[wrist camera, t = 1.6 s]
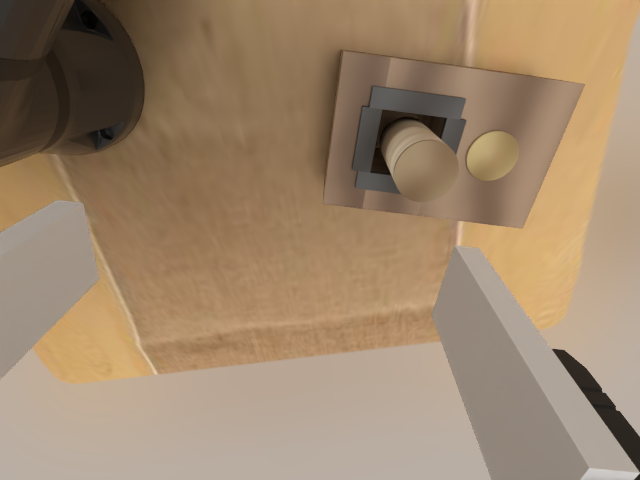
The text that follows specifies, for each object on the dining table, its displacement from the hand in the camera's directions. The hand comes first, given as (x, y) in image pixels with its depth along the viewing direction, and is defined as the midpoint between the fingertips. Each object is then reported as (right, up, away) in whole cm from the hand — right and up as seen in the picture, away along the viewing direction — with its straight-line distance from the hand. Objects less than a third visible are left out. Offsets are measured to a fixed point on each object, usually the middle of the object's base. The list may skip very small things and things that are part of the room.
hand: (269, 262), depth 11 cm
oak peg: (+9, +9, +19) cm, 22 cm away
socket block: (+12, +12, +25) cm, 30 cm away
